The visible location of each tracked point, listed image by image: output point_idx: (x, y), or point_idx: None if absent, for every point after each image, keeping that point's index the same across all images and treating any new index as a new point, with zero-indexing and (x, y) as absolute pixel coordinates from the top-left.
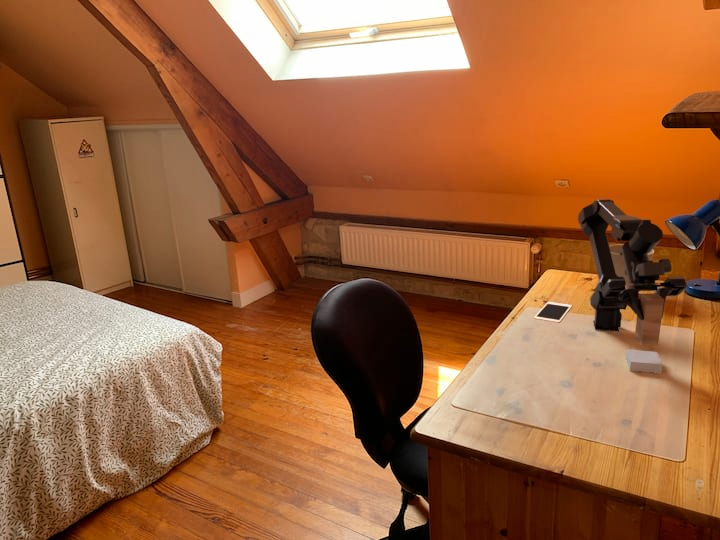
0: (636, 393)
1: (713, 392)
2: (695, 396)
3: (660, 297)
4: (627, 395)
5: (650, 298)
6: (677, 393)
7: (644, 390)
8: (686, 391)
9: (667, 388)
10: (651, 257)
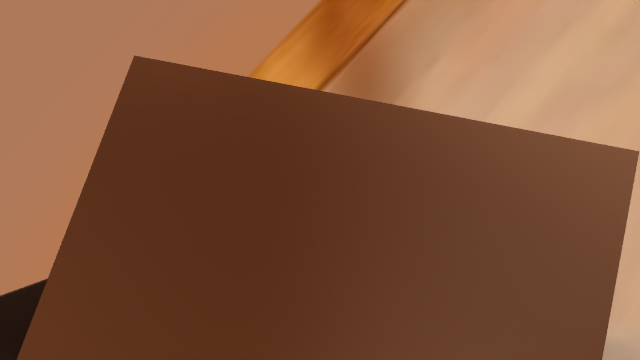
0: (582, 68)
1: (296, 25)
2: (372, 12)
3: (121, 179)
4: (635, 62)
5: (439, 204)
6: (418, 40)
7: (530, 83)
8: (376, 46)
9: (427, 78)
10: None
